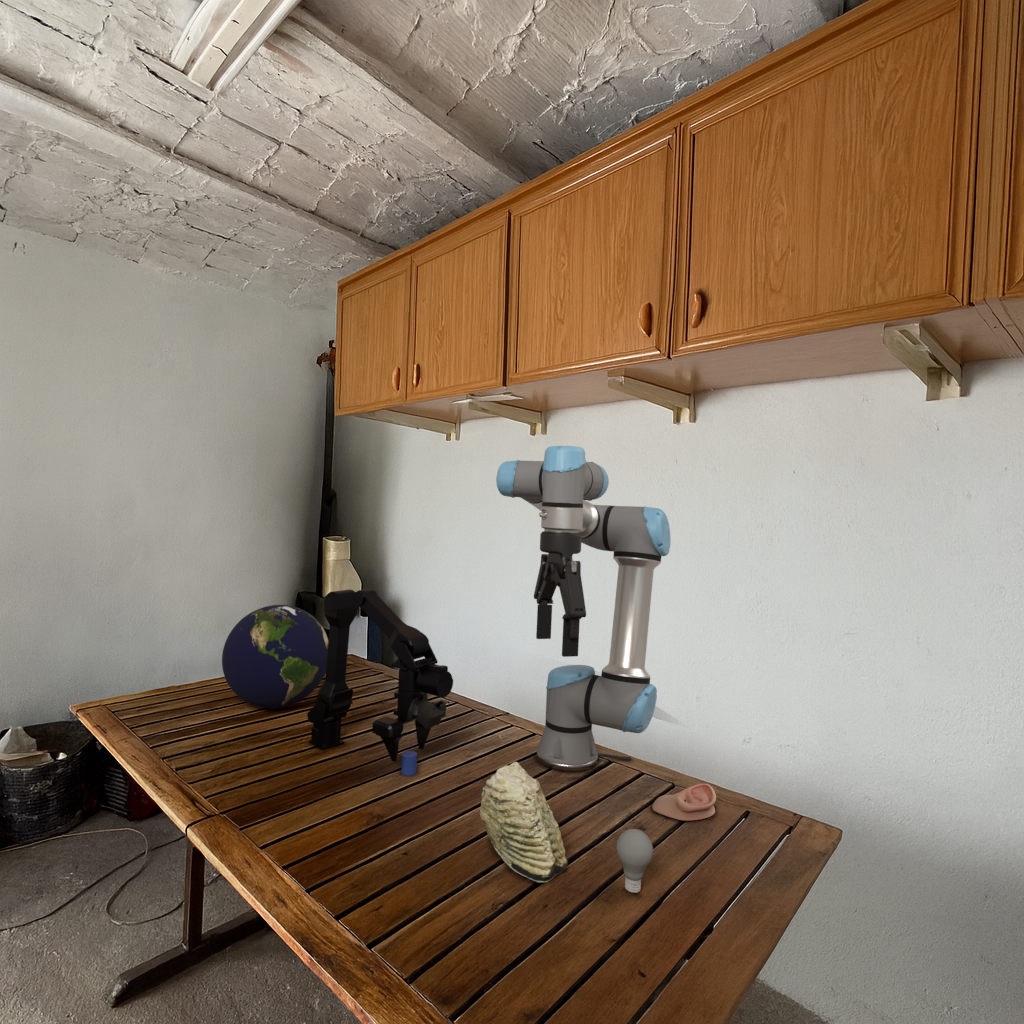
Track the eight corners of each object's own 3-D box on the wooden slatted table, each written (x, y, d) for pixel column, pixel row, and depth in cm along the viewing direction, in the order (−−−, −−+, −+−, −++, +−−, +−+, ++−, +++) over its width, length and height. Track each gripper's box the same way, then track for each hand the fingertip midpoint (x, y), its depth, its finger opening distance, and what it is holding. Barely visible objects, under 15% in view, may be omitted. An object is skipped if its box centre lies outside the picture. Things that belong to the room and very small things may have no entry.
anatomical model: (653, 797, 131) (652, 774, 142) (652, 816, 131) (651, 792, 142) (720, 806, 128) (714, 782, 140) (719, 826, 128) (713, 800, 140)
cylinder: (415, 775, 146) (416, 757, 146) (400, 775, 146) (401, 756, 145) (416, 769, 149) (417, 750, 149) (401, 769, 149) (402, 750, 149)
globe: (289, 685, 209) (292, 594, 208) (348, 705, 191) (352, 606, 191) (199, 706, 185) (203, 604, 184) (258, 732, 167) (262, 619, 167)
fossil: (501, 827, 124) (504, 751, 124) (575, 868, 111) (578, 784, 111) (467, 843, 118) (470, 763, 118) (541, 889, 105) (545, 799, 105)
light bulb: (610, 879, 108) (613, 822, 108) (644, 879, 109) (647, 822, 109) (619, 902, 102) (622, 840, 102) (655, 901, 103) (658, 840, 103)
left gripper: (409, 705, 135) (406, 778, 135) (462, 686, 150) (460, 751, 151) (371, 695, 141) (369, 764, 141) (426, 677, 156) (424, 740, 157)
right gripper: (520, 526, 126) (516, 632, 127) (567, 535, 102) (561, 665, 103) (556, 527, 129) (551, 631, 129) (609, 536, 105) (603, 663, 105)
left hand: (407, 755), depth 147 cm, fingers open, 9 cm apart
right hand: (555, 647), depth 116 cm, fingers open, 13 cm apart
